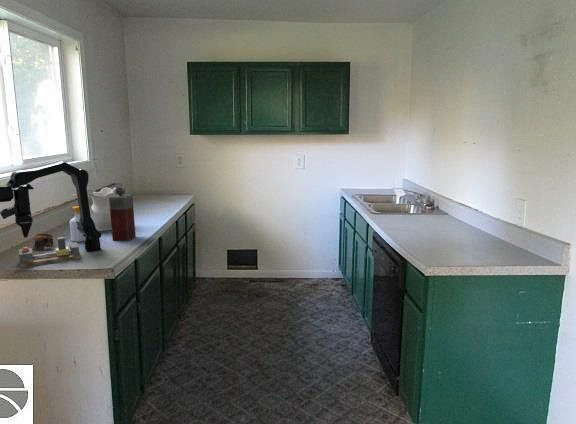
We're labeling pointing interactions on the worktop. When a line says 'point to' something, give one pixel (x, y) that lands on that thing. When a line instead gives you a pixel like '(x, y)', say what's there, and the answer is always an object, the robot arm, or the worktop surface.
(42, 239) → the pottery mug
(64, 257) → the rail board
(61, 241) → the carriage
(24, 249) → the orange ball
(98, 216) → the ceramic pitcher
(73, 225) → the soap bottle
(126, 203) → the brown syrup bottle
